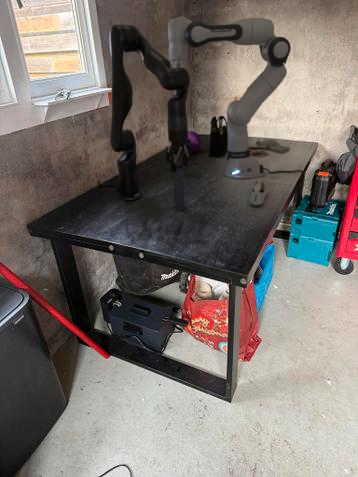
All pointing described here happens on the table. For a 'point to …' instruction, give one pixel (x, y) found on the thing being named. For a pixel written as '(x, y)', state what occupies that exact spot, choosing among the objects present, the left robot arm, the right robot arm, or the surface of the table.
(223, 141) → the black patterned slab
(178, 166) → the cap
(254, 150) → the pair of gloves
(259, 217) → the table surface
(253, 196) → the ballet flat
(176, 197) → the bottle
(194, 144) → the decorative orb
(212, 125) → the boot
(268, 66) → the right robot arm
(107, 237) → the table surface
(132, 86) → the left robot arm
